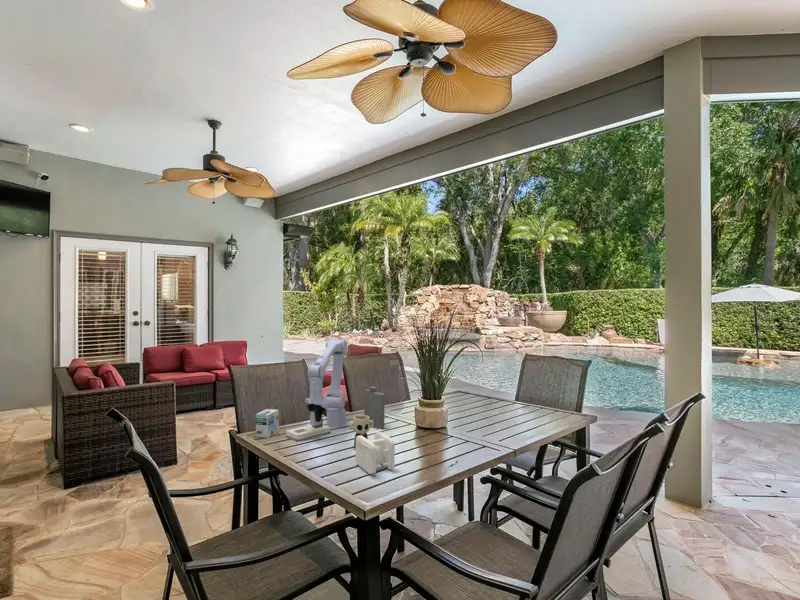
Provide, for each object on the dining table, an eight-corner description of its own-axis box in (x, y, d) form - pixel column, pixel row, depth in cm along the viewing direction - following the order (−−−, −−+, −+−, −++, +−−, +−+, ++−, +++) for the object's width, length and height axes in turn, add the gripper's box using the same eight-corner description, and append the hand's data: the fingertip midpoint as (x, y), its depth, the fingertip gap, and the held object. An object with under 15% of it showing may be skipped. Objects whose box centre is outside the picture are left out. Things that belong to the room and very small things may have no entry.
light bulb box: (268, 438, 199) (268, 414, 199) (254, 437, 201) (255, 413, 201) (279, 431, 210) (279, 409, 210) (266, 430, 211) (266, 408, 211)
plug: (317, 422, 201) (317, 409, 201) (321, 424, 199) (321, 410, 199) (310, 424, 198) (310, 411, 198) (314, 425, 196) (314, 412, 196)
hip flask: (385, 429, 215) (385, 388, 215) (378, 430, 212) (379, 389, 212) (368, 422, 227) (368, 384, 227) (361, 423, 225) (361, 384, 225)
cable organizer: (396, 472, 160) (396, 441, 160) (370, 477, 155) (370, 445, 155) (378, 459, 173) (378, 430, 173) (353, 464, 168) (354, 434, 168)
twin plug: (319, 425, 210) (319, 417, 210) (322, 426, 208) (322, 418, 208) (312, 427, 207) (312, 418, 207) (315, 428, 205) (315, 419, 205)
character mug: (351, 451, 183) (351, 420, 183) (346, 445, 189) (347, 416, 189) (375, 448, 187) (375, 417, 187) (370, 443, 193) (370, 413, 193)
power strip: (318, 429, 214) (318, 422, 214) (330, 433, 207) (330, 426, 207) (285, 437, 201) (286, 429, 201) (297, 441, 194) (297, 434, 194)
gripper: (299, 390, 201) (299, 419, 200) (318, 394, 191) (318, 425, 190) (312, 388, 206) (312, 416, 206) (331, 392, 196) (331, 422, 195)
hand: (316, 420), depth 198 cm, fingers closed on plug, 3 cm apart
